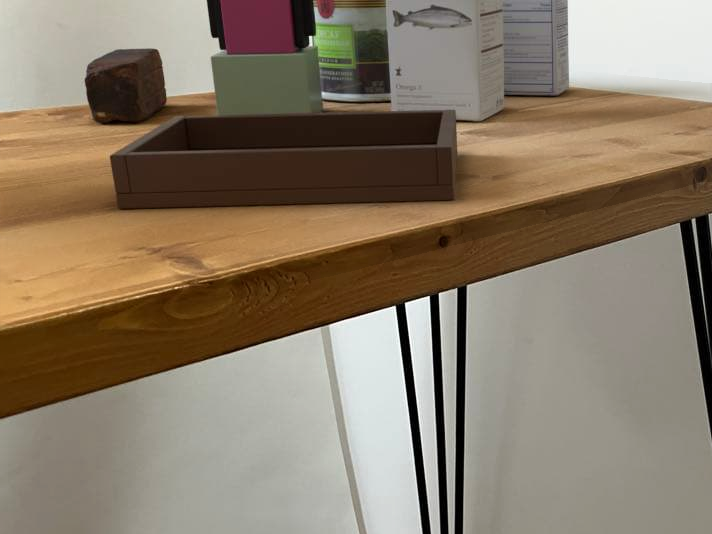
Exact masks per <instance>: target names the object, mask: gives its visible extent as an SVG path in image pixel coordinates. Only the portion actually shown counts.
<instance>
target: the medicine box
mask: <svg viewBox="0 0 712 534" xmlns="http://www.w3.org/2000/svg"><path fill="white" fill-rule="evenodd" d="M568 5H569V0H503V39H504V96H555V97H556V96H560V95H562V94H563V93H565V92H566V91H567V90H568V89H569V88H570V62H569V61H570V59H569V58H570V57H569V6H568Z"/></svg>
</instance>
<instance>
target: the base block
mask: <svg viewBox="0 0 712 534" xmlns="http://www.w3.org/2000/svg"><path fill="white" fill-rule="evenodd" d="M210 65H211V72H212V80H213V89H214V95H215V103H216V104H215V105H216V113H217V115H247V114H290V113H322V111H323V110H324V103H323V99H322V91H321V79H320V68H319V57H318V47H317V46H313V45H309V46H308V47H306V48H300V49H299V50H297V51H296V52H294V53H282V54H234V55H228V54H227V51H226V50H221V51H220V52H218V53H215V54H213V55H211V56H210Z"/></svg>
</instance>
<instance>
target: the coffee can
mask: <svg viewBox="0 0 712 534" xmlns="http://www.w3.org/2000/svg"><path fill="white" fill-rule="evenodd" d="M313 1H314V12H315V23H316V36H311V43H312V46H317V47H318V57H319V68H320V79H321V91H322V101H329V102H340V103H386V102H388V103H389V102H391V87H390V69H389V49H388V31H387V15H386V0H313Z"/></svg>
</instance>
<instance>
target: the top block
mask: <svg viewBox="0 0 712 534" xmlns="http://www.w3.org/2000/svg"><path fill="white" fill-rule="evenodd" d="M220 1H221V10H222V18H223V26H224V35H225V43H226V51H227V54H228V55H234V54H282V53H294V52H296V51H297V50H299V49H300V48H298V47H296V46H295V38H294V28H293V17H292V7H291V0H220Z"/></svg>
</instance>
